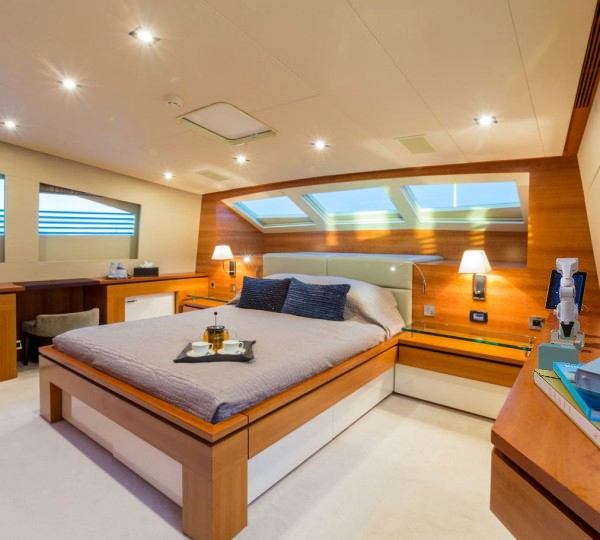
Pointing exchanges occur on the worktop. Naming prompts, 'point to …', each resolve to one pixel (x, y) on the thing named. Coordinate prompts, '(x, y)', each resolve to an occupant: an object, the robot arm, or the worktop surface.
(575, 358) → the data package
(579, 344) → the block
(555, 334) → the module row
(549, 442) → the worktop surface
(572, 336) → the green module
